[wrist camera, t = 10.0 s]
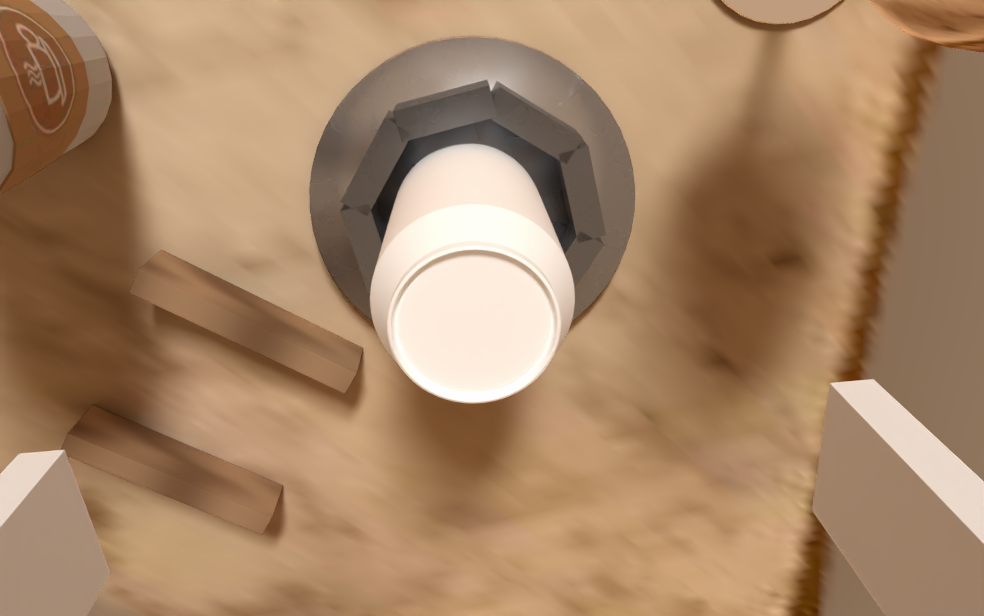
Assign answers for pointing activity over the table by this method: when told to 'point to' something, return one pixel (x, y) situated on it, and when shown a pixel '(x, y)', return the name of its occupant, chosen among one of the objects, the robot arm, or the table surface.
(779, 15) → the wineglass
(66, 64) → the coffee cup
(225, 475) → the walnut cradle
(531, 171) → the hub collar
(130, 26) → the table surface
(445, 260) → the beverage can
